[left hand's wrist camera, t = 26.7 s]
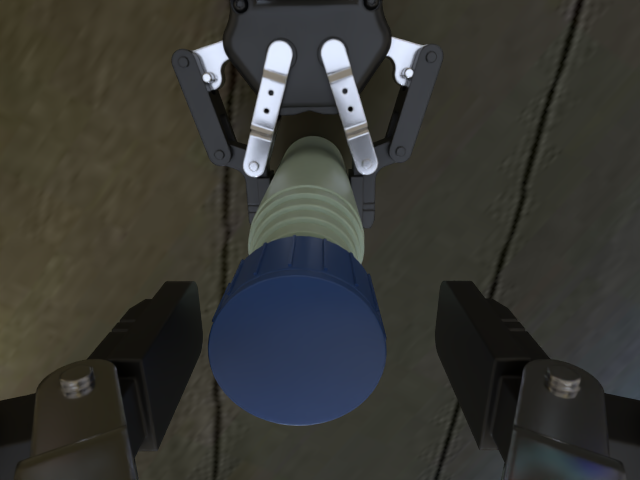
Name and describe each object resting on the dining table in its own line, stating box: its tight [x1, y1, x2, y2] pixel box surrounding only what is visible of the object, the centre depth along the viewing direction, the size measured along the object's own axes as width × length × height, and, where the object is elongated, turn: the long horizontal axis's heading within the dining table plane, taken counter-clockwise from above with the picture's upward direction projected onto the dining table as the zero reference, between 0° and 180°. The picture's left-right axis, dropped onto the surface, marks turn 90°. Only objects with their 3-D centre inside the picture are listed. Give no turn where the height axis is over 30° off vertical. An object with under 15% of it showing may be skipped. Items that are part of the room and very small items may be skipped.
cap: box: [208, 235, 386, 426], centre depth 11 cm, size 4×4×2 cm
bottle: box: [248, 136, 364, 264], centre depth 21 cm, size 4×4×22 cm
